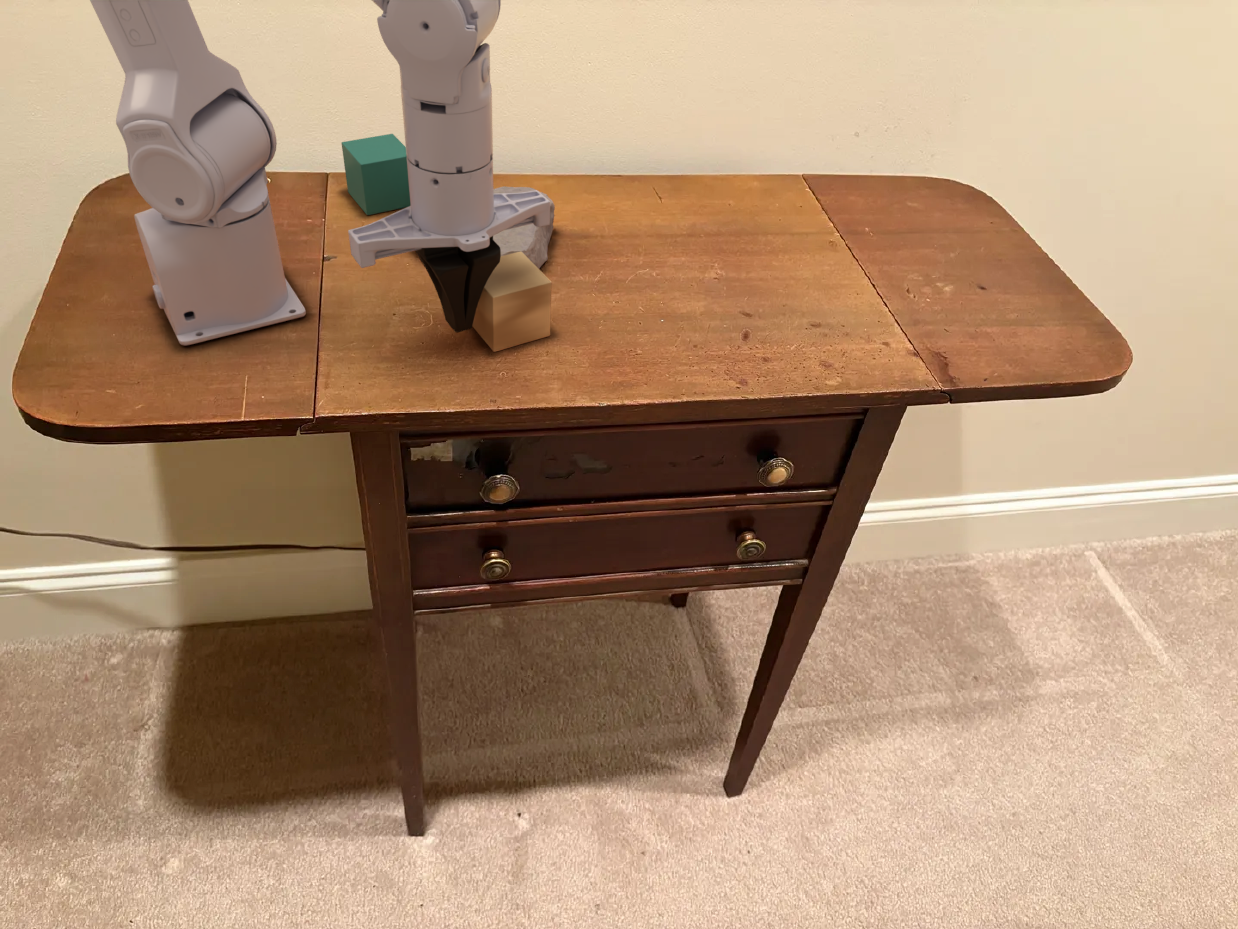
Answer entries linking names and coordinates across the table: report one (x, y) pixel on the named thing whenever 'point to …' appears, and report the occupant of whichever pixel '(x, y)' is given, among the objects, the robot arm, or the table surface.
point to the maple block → (514, 304)
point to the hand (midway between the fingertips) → (458, 324)
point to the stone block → (526, 234)
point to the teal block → (377, 173)
